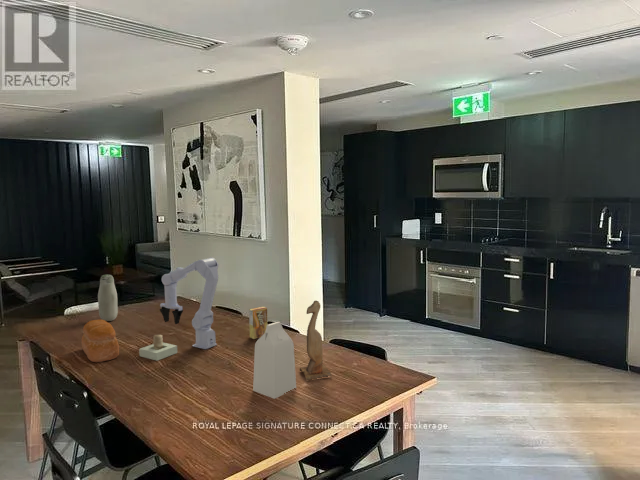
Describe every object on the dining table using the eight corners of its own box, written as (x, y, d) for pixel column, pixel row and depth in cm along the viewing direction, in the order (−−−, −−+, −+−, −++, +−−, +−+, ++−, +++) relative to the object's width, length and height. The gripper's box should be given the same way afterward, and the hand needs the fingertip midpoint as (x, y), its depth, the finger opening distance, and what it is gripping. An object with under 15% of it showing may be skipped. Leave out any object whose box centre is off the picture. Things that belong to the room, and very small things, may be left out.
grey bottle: (95, 322, 275) (93, 275, 273) (108, 317, 285) (105, 272, 282) (109, 323, 273) (107, 276, 270) (121, 319, 282) (119, 273, 279)
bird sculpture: (297, 372, 197) (294, 299, 193) (323, 368, 201) (321, 295, 197) (306, 383, 186) (303, 305, 182) (333, 378, 190) (331, 301, 186)
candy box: (263, 334, 250) (263, 306, 248) (268, 336, 247) (267, 307, 245) (249, 337, 244) (248, 308, 243) (253, 339, 241) (252, 310, 239)
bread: (89, 365, 207) (87, 331, 205) (80, 349, 228) (78, 319, 227) (121, 358, 215) (120, 326, 213) (109, 343, 236) (108, 314, 234)
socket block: (177, 352, 221) (177, 345, 221) (156, 360, 211) (156, 353, 211) (160, 348, 228) (160, 341, 227) (139, 356, 217) (139, 348, 217)
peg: (164, 352, 222) (163, 334, 221) (162, 355, 218) (161, 337, 217) (155, 353, 221) (154, 334, 220) (153, 356, 217) (152, 337, 216)
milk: (275, 380, 188) (274, 317, 185) (296, 388, 180) (295, 322, 178) (253, 390, 178) (251, 324, 176) (274, 398, 171) (273, 329, 169)
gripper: (186, 296, 238) (187, 322, 239) (167, 293, 245) (168, 318, 247) (175, 299, 232) (177, 326, 233) (156, 296, 239) (157, 322, 241)
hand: (171, 322), depth 239 cm, fingers open, 7 cm apart
